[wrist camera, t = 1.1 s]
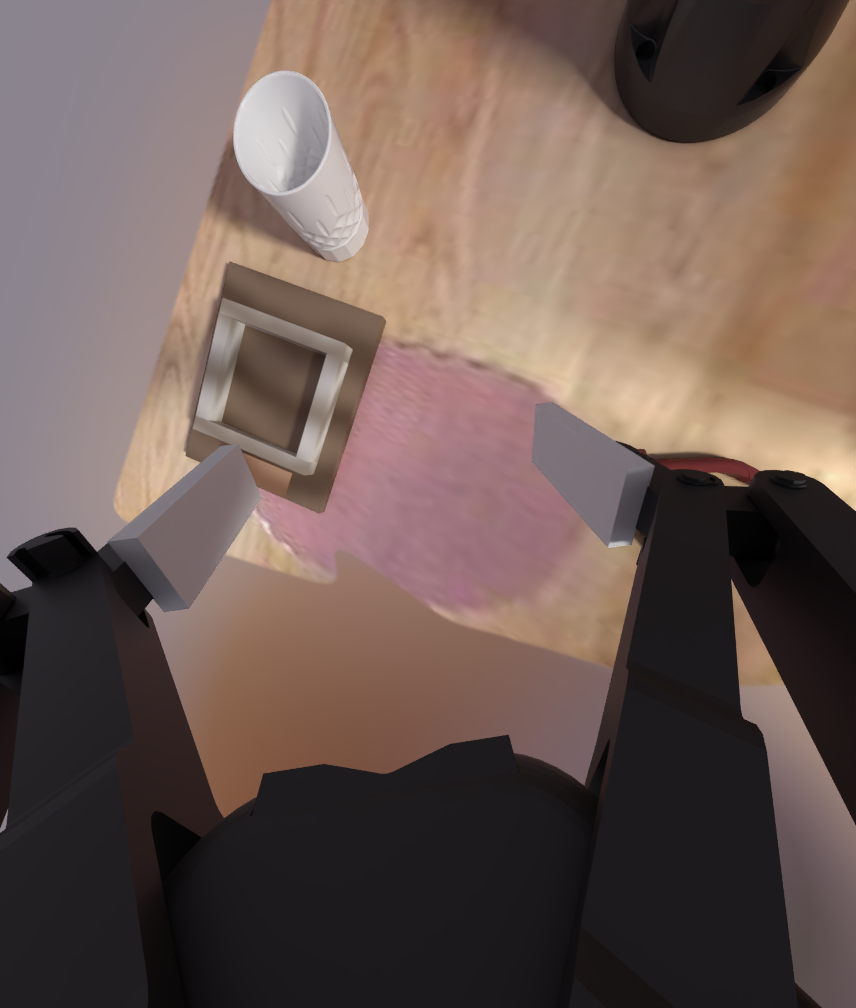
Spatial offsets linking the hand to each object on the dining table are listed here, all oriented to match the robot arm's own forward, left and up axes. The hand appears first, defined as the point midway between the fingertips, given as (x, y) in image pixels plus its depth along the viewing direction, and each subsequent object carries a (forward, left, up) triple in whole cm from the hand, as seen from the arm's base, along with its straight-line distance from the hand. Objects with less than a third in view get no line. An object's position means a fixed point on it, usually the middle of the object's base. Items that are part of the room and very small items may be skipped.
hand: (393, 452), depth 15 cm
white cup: (-18, -19, -21) cm, 33 cm away
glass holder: (0, -20, -21) cm, 29 cm away
